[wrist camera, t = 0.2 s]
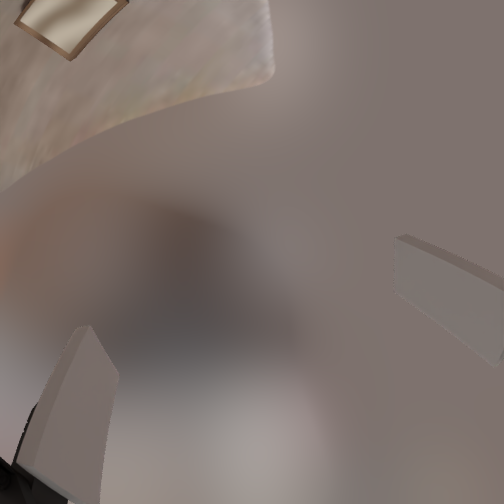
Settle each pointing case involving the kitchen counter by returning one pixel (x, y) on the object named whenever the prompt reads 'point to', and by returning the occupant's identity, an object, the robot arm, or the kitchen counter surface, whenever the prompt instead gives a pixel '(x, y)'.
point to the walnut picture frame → (67, 22)
